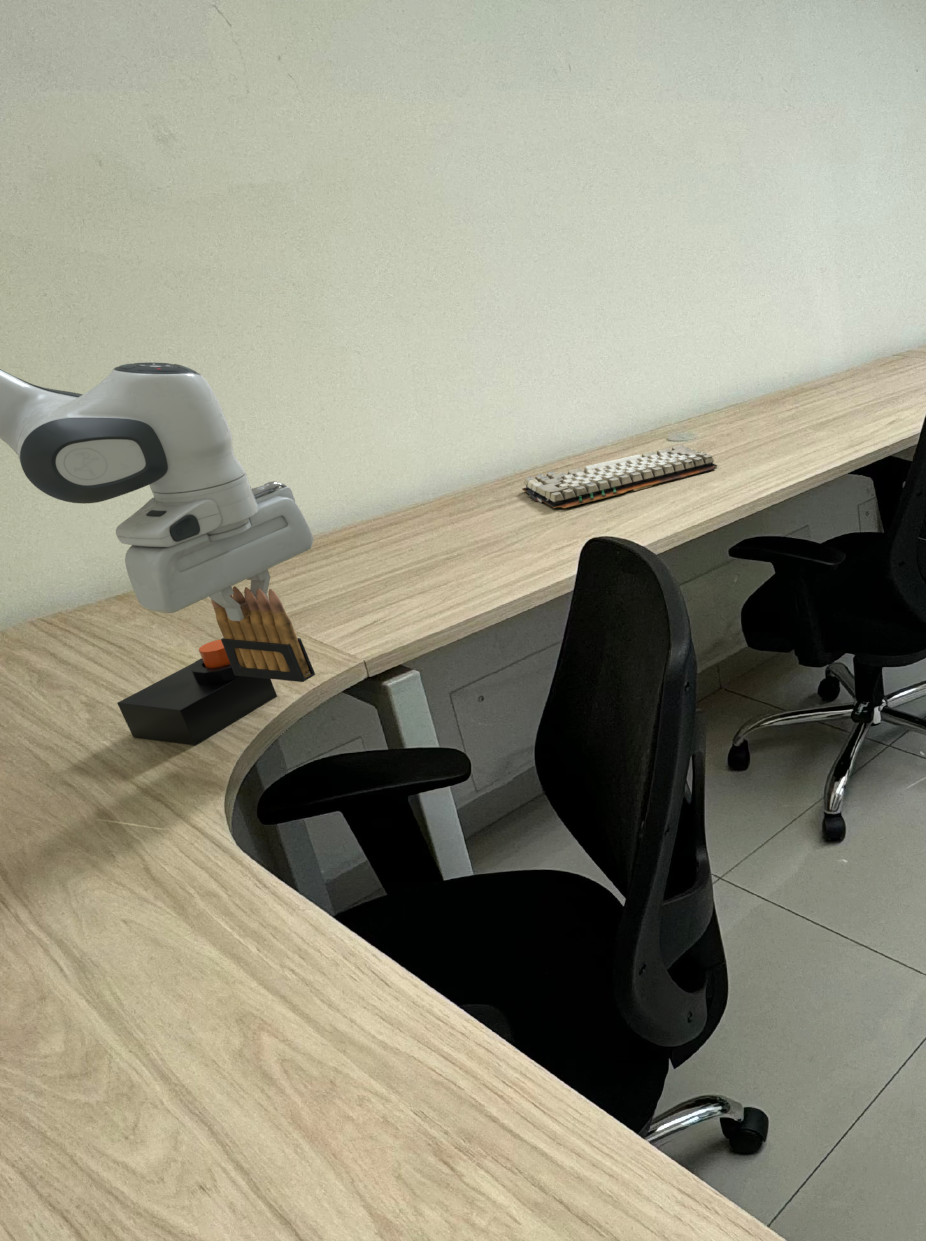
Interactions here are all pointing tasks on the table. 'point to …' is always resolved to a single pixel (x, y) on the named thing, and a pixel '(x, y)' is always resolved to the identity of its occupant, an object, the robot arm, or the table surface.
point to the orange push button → (214, 654)
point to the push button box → (194, 704)
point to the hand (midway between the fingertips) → (250, 613)
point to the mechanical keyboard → (616, 476)
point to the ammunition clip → (263, 640)
